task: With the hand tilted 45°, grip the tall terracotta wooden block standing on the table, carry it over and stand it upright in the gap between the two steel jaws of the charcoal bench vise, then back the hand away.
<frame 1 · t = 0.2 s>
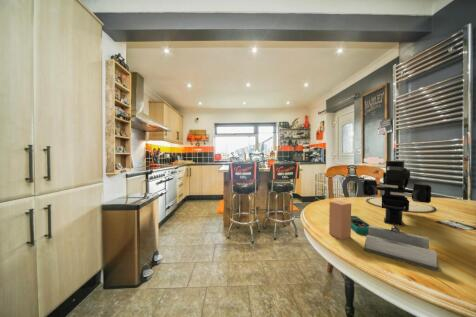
hand: (393, 194, 61), 17 cm above the table, tool horizontal, fingers open, 9 cm apart
terracotta block: (339, 235, 67), on the table
bench vise: (396, 251, 56), on the table
digital multimeter: (356, 228, 75), on the table
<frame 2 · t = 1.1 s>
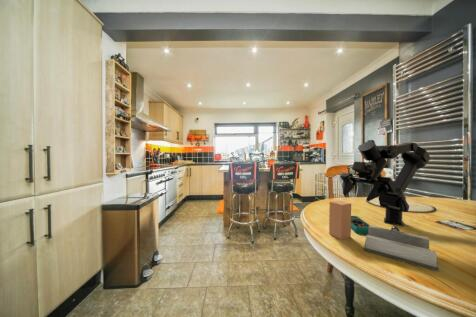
hand: (355, 197, 70), 14 cm above the table, tool tilted 45°, fingers open, 9 cm apart
nothing on the table moved.
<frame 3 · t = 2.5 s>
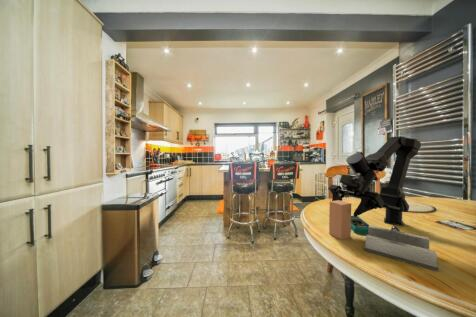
hand: (342, 212, 67), 9 cm above the table, tool tilted 45°, fingers open, 9 cm apart
nothing on the table moved.
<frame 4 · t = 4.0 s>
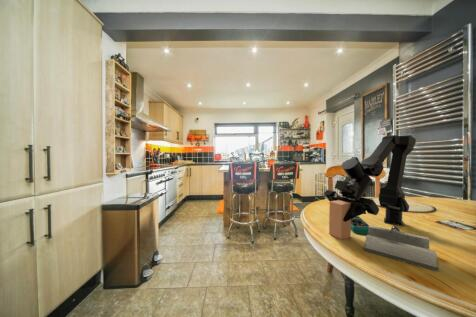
hand: (337, 218, 66), 7 cm above the table, tool tilted 45°, fingers closed on terracotta block, 5 cm apart
terracotta block: (339, 235, 67), on the table, touching gripper
everything else where it was.
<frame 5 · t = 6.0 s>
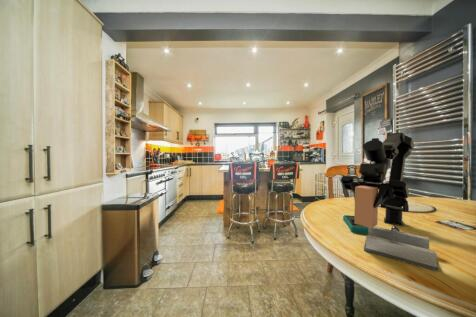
hand: (364, 205, 60), 13 cm above the table, tool tilted 45°, fingers closed on terracotta block, 5 cm apart
terracotta block: (365, 223, 61), point 7 cm above the table, touching gripper
everything else where it was.
when the fingers open (8 cm above the table, at t = 8.3 s): terracotta block stays where it is, resting on bench vise.
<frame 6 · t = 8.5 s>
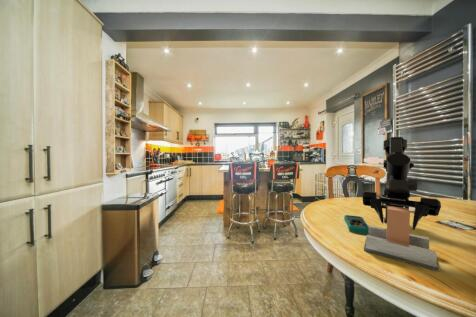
hand: (397, 225, 55), 9 cm above the table, tool tilted 45°, fingers open, 7 cm apart
terracotta block: (396, 248, 56), point 1 cm above the table, touching bench vise
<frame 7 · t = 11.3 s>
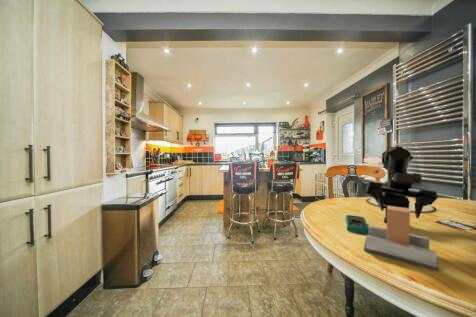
hand: (399, 213, 62), 10 cm above the table, tool tilted 40°, fingers open, 9 cm apart
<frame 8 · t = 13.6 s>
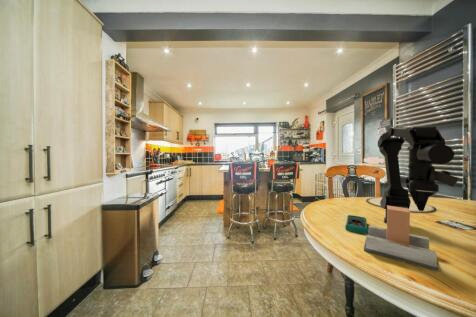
hand: (418, 207, 62), 12 cm above the table, tool pointing down, fingers open, 9 cm apart
at the end: terracotta block 0.0 cm off-centre on the bench vise, point 1.0 cm above the bench vise's base; terracotta block tilted 0°; the gripper is holding nothing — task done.
